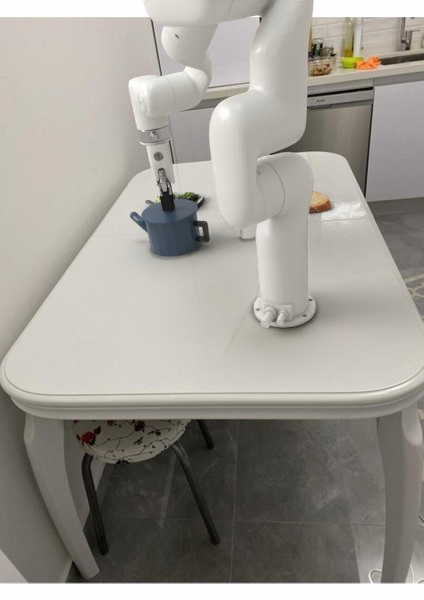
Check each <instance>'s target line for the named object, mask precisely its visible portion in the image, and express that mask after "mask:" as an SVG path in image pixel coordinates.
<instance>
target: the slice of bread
mask: <svg viewBox="0 0 424 600" xmlns="http://www.w3.org/2000/svg"><path fill="white" fill-rule="evenodd" d="M332 206H333V205H332V203H331V201H330V199H329V198H328V197H327V196H326V195H324V194H322V193H319V192H318V191H315V190H313V194H312V199H311V204H310V209H309V214H313V213H314V214H315V213H321V212H326V211H328V210H330V209H331V208H332Z"/></svg>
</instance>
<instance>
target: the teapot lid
mask: <svg viewBox="0 0 424 600" xmlns="http://www.w3.org/2000/svg"><path fill="white" fill-rule="evenodd" d="M170 188H171V187H170ZM172 192H173V190H172V191H171V193H172ZM174 204H175V209H174V210H168V211H163V210H162V205H161V202H158V203H155V204H153V205H151V206H149V205H148V206H147V207H146V208H144V209H143V210H142V212H141V215H140V216H141V217H142V220H143V221H145V222H146V223H149V224H155V225H165V224H172V223H177V222H180V221H183V220H186V219H188V218H190V217H191V216H193V215H194V214H195V213H197V212H198V209H199V208H197V204H196V203H195V202H193V201H191V200H186V199H174Z"/></svg>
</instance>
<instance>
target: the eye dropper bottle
mask: <svg viewBox="0 0 424 600" xmlns="http://www.w3.org/2000/svg"><path fill="white" fill-rule="evenodd" d="M256 227H257V224H256V225H254V226H251V227H249V228H245V229H239V234H240V238H241V239H242V240H250V239H255V240H256Z"/></svg>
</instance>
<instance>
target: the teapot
mask: <svg viewBox="0 0 424 600" xmlns="http://www.w3.org/2000/svg"><path fill="white" fill-rule="evenodd" d="M195 220H198V214H197V212H196V213H195V214H194V215H193V216H191V217H190V218H188V219H186V220H183V221H180V222H177V223H172V224H165V225H155V224H149V223H146V222H145V224H146V228H147V232H146V234H147V236H148V241H149V246H150V249H151V252H152V254H155V255H157V256H159V257H164V258H173V257H179V256H184V255H187V254H190V253H192V252H194V251H195V250H196V249H197V248H199V247H200V245H201V243H202V242H197V241H196V237H197V236H201V234H200V233H201V232H200V227H195V226H194V221H195Z"/></svg>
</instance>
